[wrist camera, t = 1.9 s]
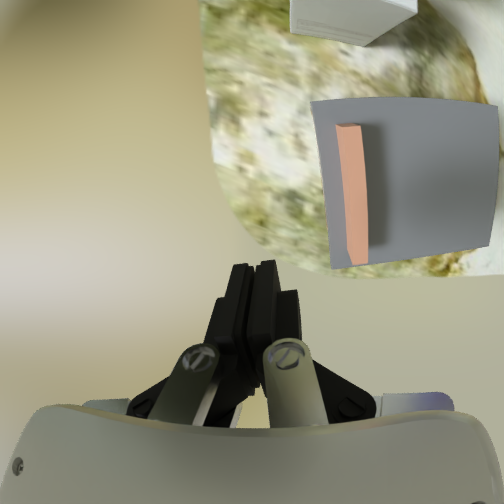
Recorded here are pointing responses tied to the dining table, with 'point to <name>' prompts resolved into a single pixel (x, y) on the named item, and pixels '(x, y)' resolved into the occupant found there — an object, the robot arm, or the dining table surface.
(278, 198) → the dining table surface
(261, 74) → the dining table surface
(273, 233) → the dining table surface
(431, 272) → the dining table surface
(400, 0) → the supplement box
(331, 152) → the lid
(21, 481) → the robot arm
